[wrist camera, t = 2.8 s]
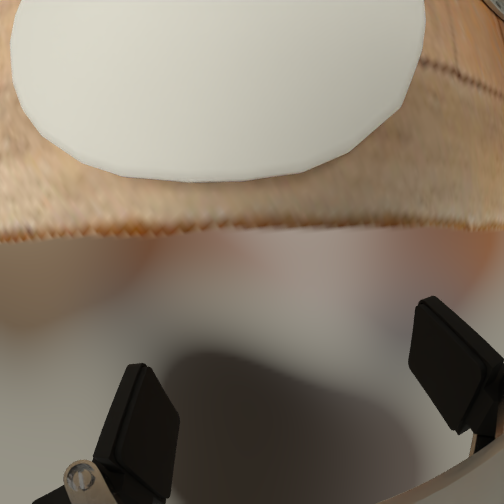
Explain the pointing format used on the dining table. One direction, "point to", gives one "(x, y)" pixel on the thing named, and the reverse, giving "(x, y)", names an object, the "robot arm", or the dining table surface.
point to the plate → (212, 81)
